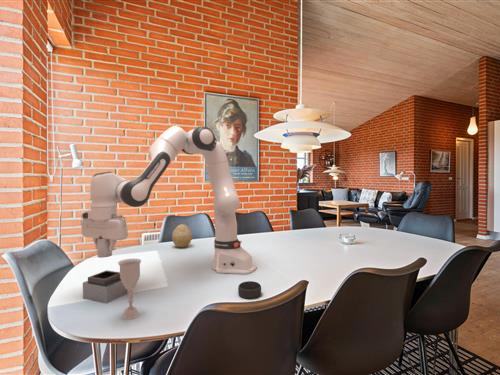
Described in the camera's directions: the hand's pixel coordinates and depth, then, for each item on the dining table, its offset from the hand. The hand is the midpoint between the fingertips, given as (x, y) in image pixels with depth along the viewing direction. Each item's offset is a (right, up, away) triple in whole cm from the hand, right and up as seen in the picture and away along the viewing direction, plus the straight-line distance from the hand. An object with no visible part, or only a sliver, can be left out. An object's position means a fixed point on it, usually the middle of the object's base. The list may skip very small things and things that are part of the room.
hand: (104, 249), depth 108 cm
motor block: (-2, -18, +1) cm, 18 cm away
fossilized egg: (+12, -15, +75) cm, 78 cm away
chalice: (+16, -19, -15) cm, 29 cm away
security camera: (0, -2, 0) cm, 2 cm away
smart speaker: (+56, -18, +1) cm, 59 cm away
